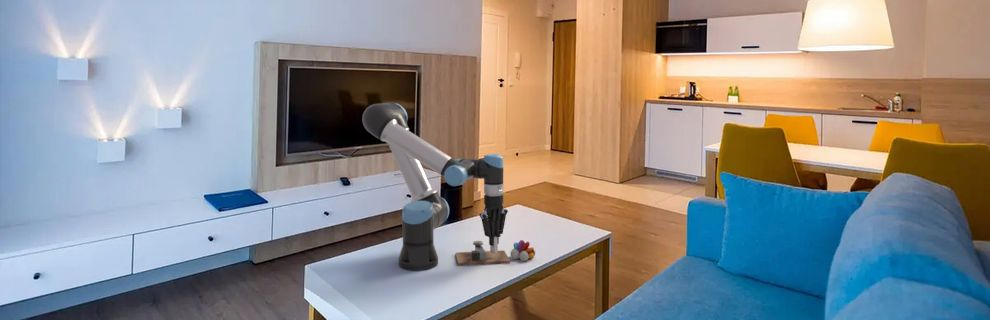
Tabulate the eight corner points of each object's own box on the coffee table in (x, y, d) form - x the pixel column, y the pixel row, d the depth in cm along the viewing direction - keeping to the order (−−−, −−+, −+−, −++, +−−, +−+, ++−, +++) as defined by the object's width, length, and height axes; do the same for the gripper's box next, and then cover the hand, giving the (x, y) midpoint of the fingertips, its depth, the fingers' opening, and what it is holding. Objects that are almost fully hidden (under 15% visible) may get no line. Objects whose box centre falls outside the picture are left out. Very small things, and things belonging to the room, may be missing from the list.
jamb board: (458, 265, 203) (458, 252, 202) (455, 254, 216) (455, 241, 215) (509, 263, 206) (510, 249, 206) (503, 252, 219) (504, 239, 218)
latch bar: (475, 253, 213) (475, 246, 213) (481, 253, 214) (481, 245, 213) (479, 260, 205) (479, 253, 205) (485, 260, 206) (485, 252, 205)
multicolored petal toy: (528, 263, 207) (528, 245, 206) (506, 258, 212) (507, 241, 211) (538, 257, 214) (538, 240, 213) (517, 253, 219) (517, 236, 218)
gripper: (487, 198, 200) (487, 258, 203) (512, 193, 208) (512, 251, 212) (474, 195, 205) (475, 253, 209) (499, 190, 214) (500, 247, 217)
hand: (493, 252), depth 210 cm, fingers closed
